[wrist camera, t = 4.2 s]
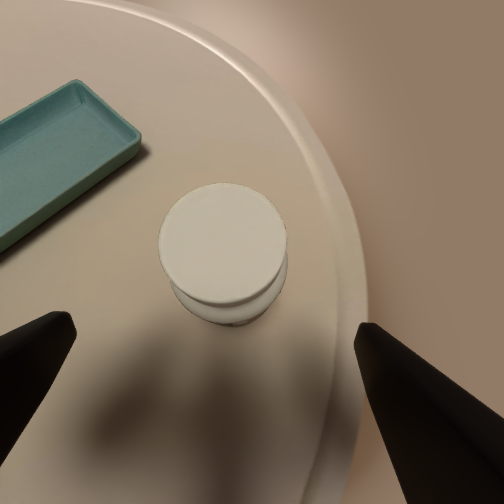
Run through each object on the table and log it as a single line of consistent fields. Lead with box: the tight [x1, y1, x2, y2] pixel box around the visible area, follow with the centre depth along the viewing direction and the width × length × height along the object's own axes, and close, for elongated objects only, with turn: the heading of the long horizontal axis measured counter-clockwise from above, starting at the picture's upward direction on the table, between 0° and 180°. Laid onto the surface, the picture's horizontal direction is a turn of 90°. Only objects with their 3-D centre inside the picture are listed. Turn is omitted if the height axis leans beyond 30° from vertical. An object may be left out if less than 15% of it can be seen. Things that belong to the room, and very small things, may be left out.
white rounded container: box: [158, 183, 288, 327], centre depth 13 cm, size 6×6×10 cm
